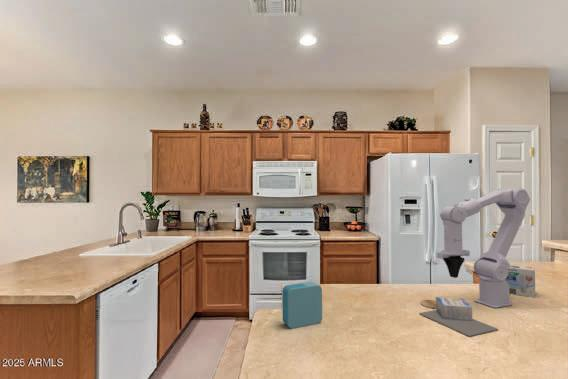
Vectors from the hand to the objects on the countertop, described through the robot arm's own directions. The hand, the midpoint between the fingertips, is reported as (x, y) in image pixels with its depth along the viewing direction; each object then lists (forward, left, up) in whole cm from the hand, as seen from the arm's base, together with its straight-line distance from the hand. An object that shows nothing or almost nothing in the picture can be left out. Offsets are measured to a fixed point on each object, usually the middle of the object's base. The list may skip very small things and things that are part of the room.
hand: (453, 277), depth 107 cm
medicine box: (+5, +9, -8) cm, 13 cm away
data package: (+57, -7, -11) cm, 59 cm away
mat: (+12, +10, -10) cm, 19 cm away
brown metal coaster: (+6, -4, -10) cm, 13 cm away
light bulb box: (-37, -1, -11) cm, 38 cm away
